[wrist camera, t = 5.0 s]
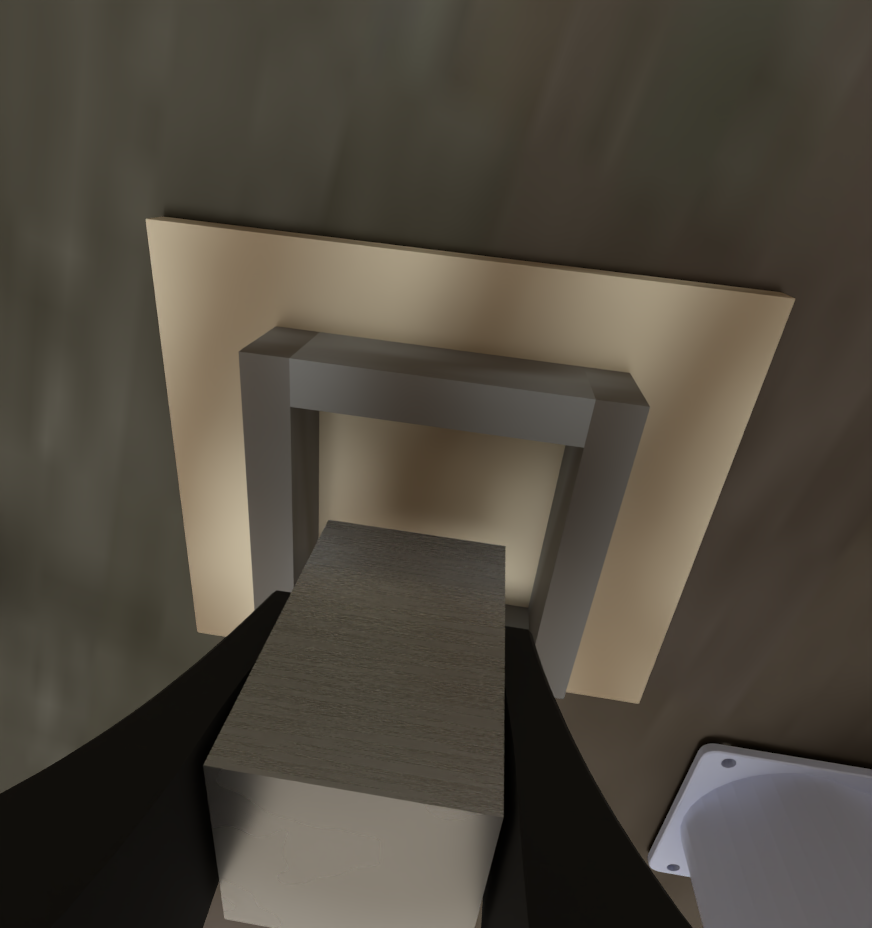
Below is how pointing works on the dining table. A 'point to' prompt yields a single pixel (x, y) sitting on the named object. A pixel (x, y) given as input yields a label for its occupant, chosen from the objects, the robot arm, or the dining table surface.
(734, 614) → the dining table surface
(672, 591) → the socket base
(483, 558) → the peg
